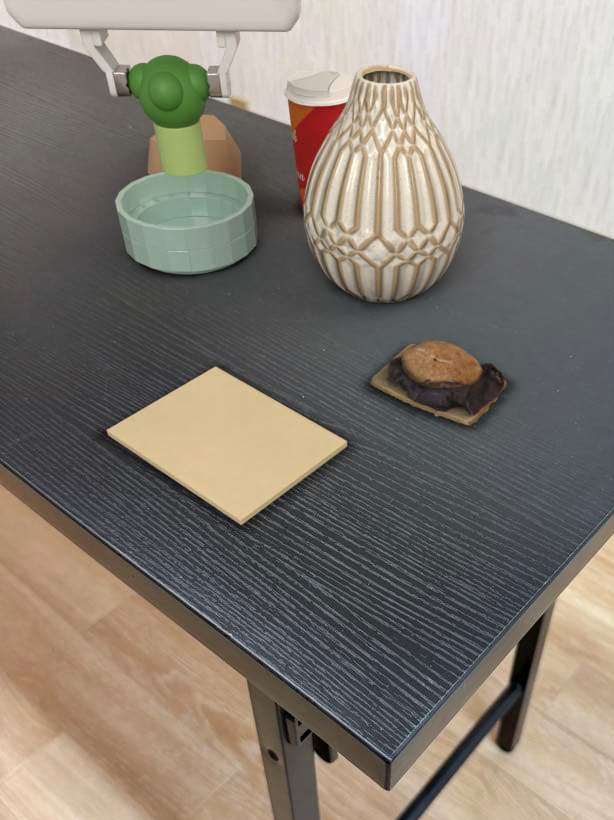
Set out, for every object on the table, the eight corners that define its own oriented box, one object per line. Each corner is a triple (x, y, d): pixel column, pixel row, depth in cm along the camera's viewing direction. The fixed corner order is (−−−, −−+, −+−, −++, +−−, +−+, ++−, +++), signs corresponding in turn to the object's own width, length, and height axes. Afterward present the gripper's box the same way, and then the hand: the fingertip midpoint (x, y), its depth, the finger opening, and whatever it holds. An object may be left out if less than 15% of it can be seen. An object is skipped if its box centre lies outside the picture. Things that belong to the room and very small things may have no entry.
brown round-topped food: (364, 390, 72) (364, 355, 70) (414, 345, 77) (415, 311, 75) (467, 432, 69) (471, 397, 66) (512, 383, 74) (517, 348, 71)
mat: (107, 435, 67) (106, 429, 67) (216, 371, 74) (215, 365, 73) (241, 525, 60) (240, 520, 60) (347, 446, 67) (347, 441, 67)
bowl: (114, 278, 84) (101, 227, 80) (141, 215, 94) (131, 167, 90) (251, 280, 85) (245, 230, 81) (264, 218, 94) (259, 170, 90)
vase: (298, 319, 80) (281, 102, 65) (317, 242, 91) (306, 41, 76) (458, 327, 80) (478, 112, 65) (458, 249, 90) (475, 49, 76)
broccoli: (138, 183, 63) (113, 70, 57) (152, 151, 67) (131, 42, 61) (218, 184, 63) (202, 71, 57) (228, 152, 67) (213, 43, 61)
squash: (173, 225, 93) (142, 144, 87) (142, 179, 107) (113, 106, 101) (260, 194, 95) (236, 113, 88) (218, 152, 109) (194, 79, 102)
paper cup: (314, 188, 100) (308, 62, 90) (368, 202, 98) (368, 75, 87) (279, 213, 95) (268, 83, 85) (335, 229, 93) (330, 97, 83)
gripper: (-55, -138, 48) (21, 109, 58) (287, -132, 49) (303, 111, 59) (-21, -154, 53) (44, 79, 63) (293, -148, 53) (308, 82, 63)
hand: (173, 95), depth 61 cm, fingers closed on broccoli, 6 cm apart
